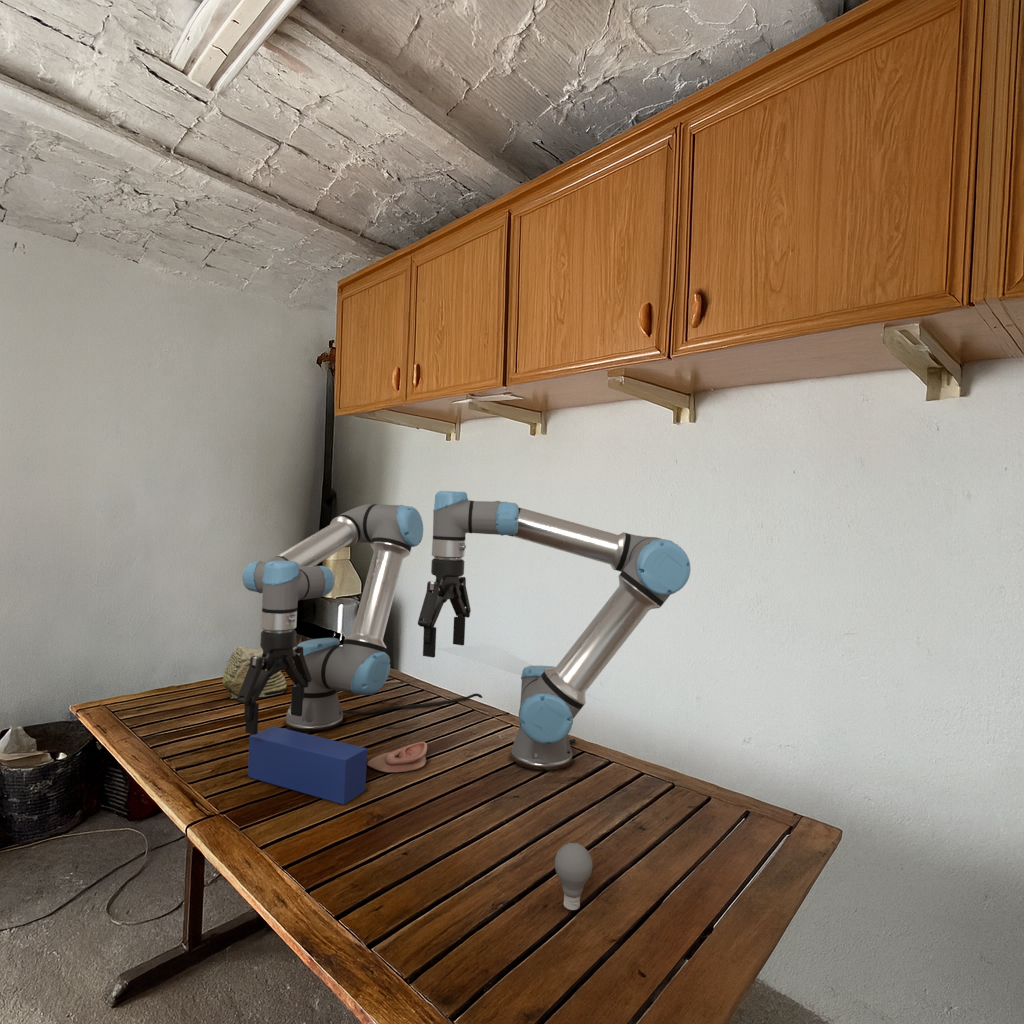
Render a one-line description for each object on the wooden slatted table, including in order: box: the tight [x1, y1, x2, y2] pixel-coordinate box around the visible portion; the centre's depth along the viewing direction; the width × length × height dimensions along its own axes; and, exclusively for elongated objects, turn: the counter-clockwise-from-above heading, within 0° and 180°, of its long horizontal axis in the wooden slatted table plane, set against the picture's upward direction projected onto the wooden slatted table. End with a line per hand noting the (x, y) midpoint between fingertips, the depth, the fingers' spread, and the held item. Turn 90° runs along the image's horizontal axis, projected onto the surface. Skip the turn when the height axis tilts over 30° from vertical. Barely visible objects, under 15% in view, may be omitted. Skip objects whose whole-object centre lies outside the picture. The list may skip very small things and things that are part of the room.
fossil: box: [222, 646, 288, 699], centre depth 198 cm, size 9×18×15 cm, turn 132°
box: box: [247, 725, 368, 805], centre depth 139 cm, size 27×7×9 cm, turn 66°
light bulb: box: [554, 842, 594, 911], centre depth 100 cm, size 6×6×10 cm
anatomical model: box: [366, 741, 428, 773], centre depth 152 cm, size 13×4×12 cm
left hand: (274, 723), depth 143 cm, fingers open, 13 cm apart
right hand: (444, 650), depth 146 cm, fingers open, 13 cm apart
